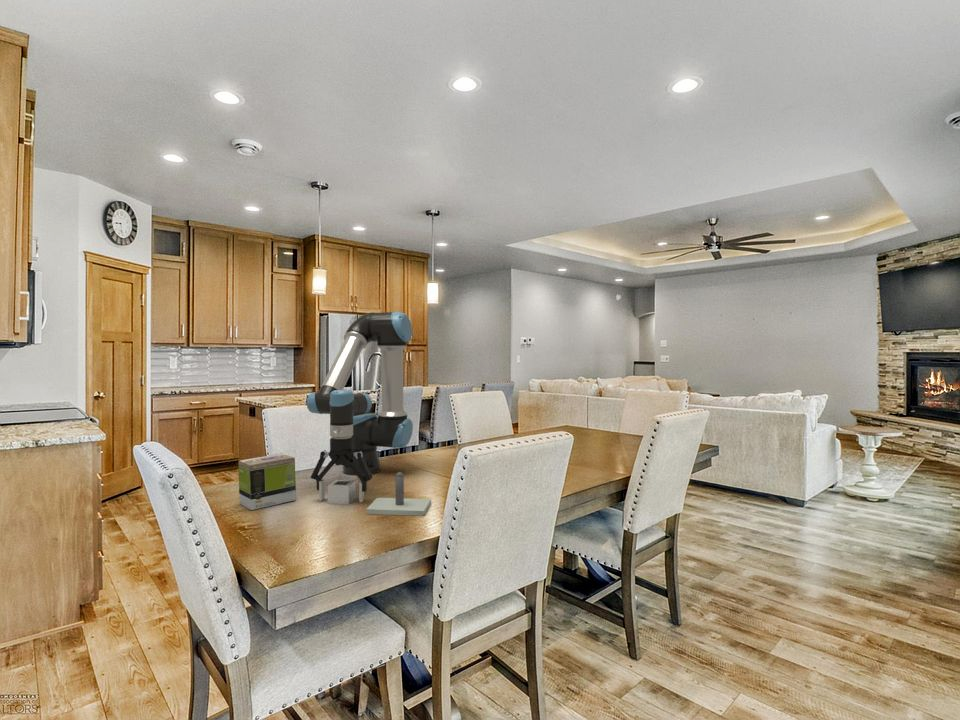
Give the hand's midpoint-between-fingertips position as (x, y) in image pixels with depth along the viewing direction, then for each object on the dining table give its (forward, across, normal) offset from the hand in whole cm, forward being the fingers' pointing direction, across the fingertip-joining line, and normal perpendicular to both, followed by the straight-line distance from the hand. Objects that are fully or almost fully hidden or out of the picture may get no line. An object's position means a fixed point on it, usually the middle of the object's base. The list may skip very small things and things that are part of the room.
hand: (341, 500), depth 173 cm
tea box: (0, -24, -4) cm, 24 cm away
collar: (0, 0, 0) cm, 0 cm away
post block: (0, +21, -6) cm, 22 cm away
